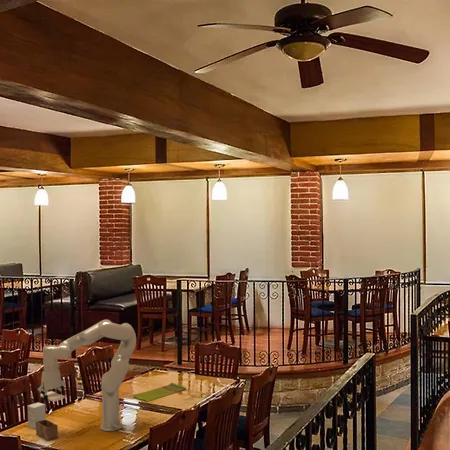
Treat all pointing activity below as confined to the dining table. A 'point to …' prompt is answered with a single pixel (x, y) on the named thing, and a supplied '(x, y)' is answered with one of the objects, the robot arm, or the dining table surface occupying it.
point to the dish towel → (159, 392)
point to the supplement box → (36, 414)
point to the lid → (53, 396)
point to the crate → (46, 430)
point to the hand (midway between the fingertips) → (52, 399)
